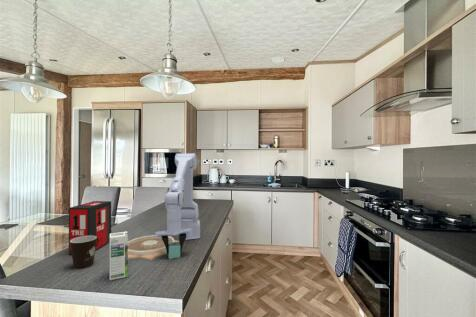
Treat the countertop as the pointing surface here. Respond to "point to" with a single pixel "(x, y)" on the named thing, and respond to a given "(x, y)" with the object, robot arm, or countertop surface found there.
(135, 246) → the ring tray
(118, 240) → the syrup box
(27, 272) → the countertop surface
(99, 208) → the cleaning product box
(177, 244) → the bead
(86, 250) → the coffee mug
